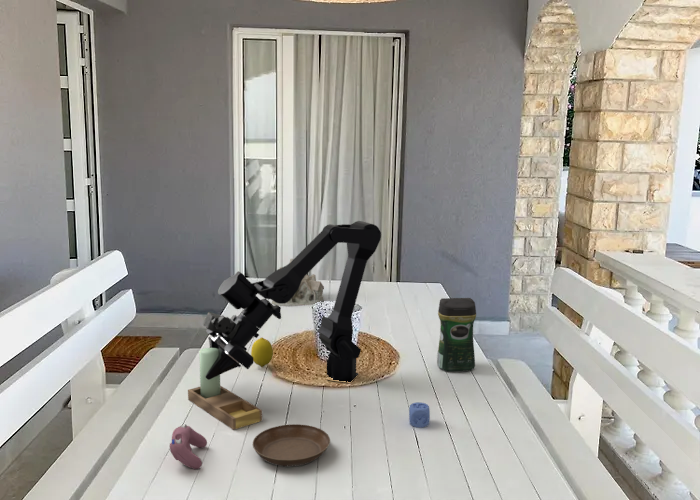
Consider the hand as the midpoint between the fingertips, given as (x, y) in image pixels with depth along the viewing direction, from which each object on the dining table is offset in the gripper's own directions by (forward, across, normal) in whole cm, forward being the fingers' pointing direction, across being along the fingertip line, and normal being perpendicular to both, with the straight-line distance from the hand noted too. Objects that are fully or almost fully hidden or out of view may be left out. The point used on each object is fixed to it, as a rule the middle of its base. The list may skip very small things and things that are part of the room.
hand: (203, 374), depth 154 cm
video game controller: (+12, +24, -2) cm, 27 cm away
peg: (+4, 0, +6) cm, 7 cm away
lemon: (-9, -16, +18) cm, 26 cm away
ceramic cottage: (-32, -73, +42) cm, 91 cm away
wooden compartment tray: (+3, +6, +7) cm, 9 cm away
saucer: (-1, +30, +11) cm, 32 cm away
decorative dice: (-22, +30, +32) cm, 49 cm away
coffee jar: (-41, +6, +50) cm, 65 cm away
